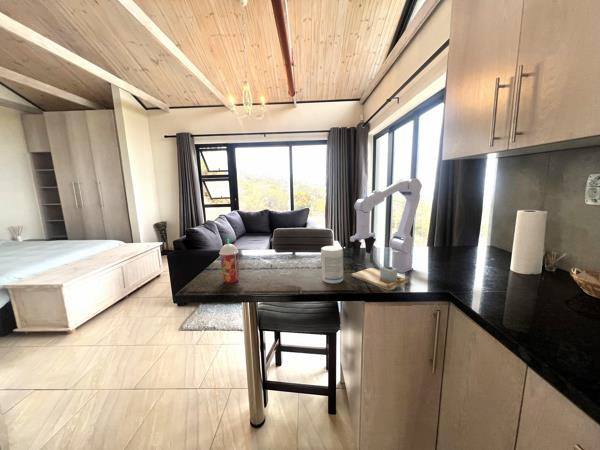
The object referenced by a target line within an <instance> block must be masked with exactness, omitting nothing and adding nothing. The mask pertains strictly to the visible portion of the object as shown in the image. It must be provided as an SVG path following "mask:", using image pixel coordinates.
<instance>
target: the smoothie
mask: <svg viewBox="0 0 600 450" xmlns="http://www.w3.org/2000/svg"><path fill="white" fill-rule="evenodd" d="M239 252H240V250H238V247H236V245H235V244H232V243H230V238H229V237H228V238H227V243H226V244H224V245H223V246H222V247H221V248H220V250H219V252H218V253H219V261H220V267H221V272H222V279H223V280H224V283H226V284H234V283H236V282H238V280H239V278H240V277H239V275H240V272H239V268H240V267H239V265H240V262H239V260H240V259H239V257H240V256H239Z"/></svg>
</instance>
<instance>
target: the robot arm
mask: <svg viewBox="0 0 600 450" xmlns="http://www.w3.org/2000/svg"><path fill="white" fill-rule="evenodd" d="M422 186H423V185H422V183H421V181H420V179H418V178H416V177H415V178H400V179H399V180H395V182H394V183H391V184H390V185H388V186H387V187H385V188H384V189H382V190H373V191H372V193H370V194H368V195H364V196H363V198H358V199H357V200H356V201H355V203H354V205H353V207H354V210H355V211H356V212H355V213H356V233H355V235H352V236H349V243H350V245H351V248H352V250H353V254H354V256H355V257H359V256H360V253H361V251H360V250H361V246H362V244H363V242H362V241H361V240H364V244H365V247H364V248H365V253H366V254H371V253H372V249H373V246H374V244H375V242H376V240H377V238H376V233H375V232H370V224H371V223H370V222H371V221H370V219H371V218H370V217H371V216H370V215H371V211H372V210H373V208H374V207H376V206H378V205H379V204H382V203H384V201H385V198H387V197H389V196H391V195H393V194H395V193H397V192H399V193H400V194H401V195H402V196H403V197H404V198H405V201H406V202H405V203H404V207H403V211H402V215H401V217H400V222H399V226H398V229H397V231H396V232H394V233H393V234H392V237H391V238H390V240H389V242H388V243H389V248H390V249H391V252H392V253H391V267H392V268H395V269H397V273H400V274H403V273H406V272H409V271H411V270H414V268H413V267H412V263H413V256H412V255H413V254H412V253H411V252H412V249H413V241H414V239H413V238H414V237H412V236H411V230H412V227H413V223H414V220H415V216H416V213H417V210H418V206H419V203H420V200H421V199H420V198H421V190H422Z"/></svg>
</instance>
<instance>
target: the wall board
mask: <svg viewBox="0 0 600 450" xmlns="http://www.w3.org/2000/svg"><path fill="white" fill-rule="evenodd" d="M380 270H381V269H377V268H374V267H369V268H366V269H363V270H360V271H357V272H356V271H355V272H353V273H351V277H353V278H355V279H358V280H360V281H363V282H365V283H368V284H371V285H373V286H375V287H378V288H380V289H383V290H386V291H387V292H389V290H390V291H392V290H394V289H396V287H397V288H399V287H402V286H404V285H406V283H407V284H409V283H410V278H411V277H410V276H406V277H403V276H399V275H397V280H396V281H394V282H391V281H388V280H385V279H382V278H380ZM401 285H402V286H401Z"/></svg>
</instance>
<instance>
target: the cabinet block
mask: <svg viewBox="0 0 600 450" xmlns="http://www.w3.org/2000/svg"><path fill="white" fill-rule="evenodd" d="M379 270H380V278H382V279H385V280H388V281H391V282H394V281H396V280H397V276H398V272H397V269H395V268H392V266H388V265H385V266H383V267H381V268H380V269H379Z"/></svg>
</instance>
